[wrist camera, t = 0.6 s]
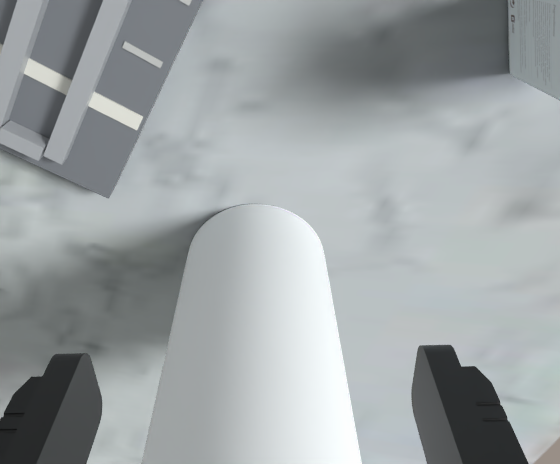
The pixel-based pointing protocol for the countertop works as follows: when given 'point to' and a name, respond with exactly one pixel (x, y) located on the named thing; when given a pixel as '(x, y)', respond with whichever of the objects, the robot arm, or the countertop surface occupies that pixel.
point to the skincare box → (535, 43)
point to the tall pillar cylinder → (253, 350)
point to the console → (84, 80)
